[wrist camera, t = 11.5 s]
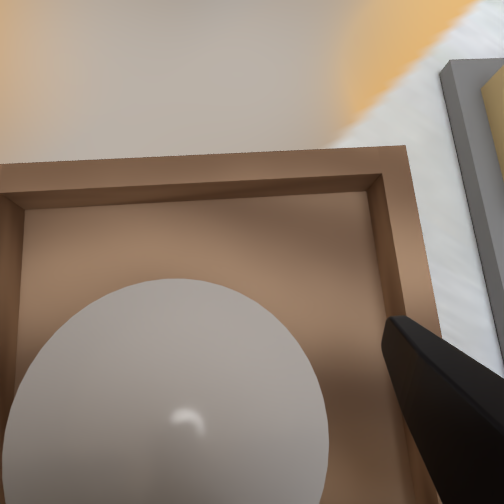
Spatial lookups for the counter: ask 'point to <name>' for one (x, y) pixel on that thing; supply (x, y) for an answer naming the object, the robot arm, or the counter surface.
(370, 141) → the counter surface
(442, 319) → the counter surface
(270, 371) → the ball
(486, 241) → the block
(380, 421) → the tray
